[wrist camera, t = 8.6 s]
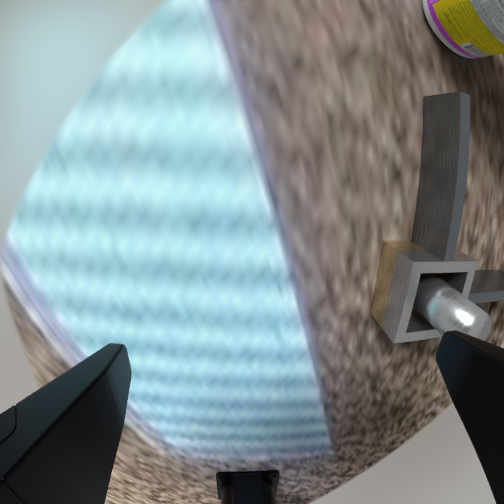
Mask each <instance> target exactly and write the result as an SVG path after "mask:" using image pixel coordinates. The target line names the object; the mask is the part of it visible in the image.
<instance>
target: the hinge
mask: <svg viewBox="0 0 504 504" xmlns="http://www.w3.org/2000/svg"><path fill="white" fill-rule="evenodd" d="M469 136H470V95H468V94H466V93H463V92H452V93H445V94H439V95H432V96H426V97H424V106H423V139H422V156H421V169H420V180H419V189H418V198H417V206H416V214H415V221H414V228H413V234H412V240H411V242H410V241H383V246H382V253H381V259H380V265H379V271H378V276H377V282H376V287H375V292H374V297H373V302H372V307H371V312H370V314H371V315H372V316H373V317H374V319H375V320H376V321H377V323H378V324H379V325H380V326H381V328H382V329H383V330H384V332H385V333H386V334H387V336H388V337H389V338H390V339H391V341H392V342H393V343H394V344H395V343H403V342H410V341H417V340H424V339H431V338H437V337H442V335H441V334H440V333H439V332H438V331H437V330H436V329H435V328H434V327H433V326H432V325H431V324H430V323H429V322H428V321H427V320H426V319H425V318H424V317H423V316H422V315H421V314H420V313H419V312H418V311H417V310H416V309H415V308H414V307H413V304H414V300H415V296H416V292H417V288H418V284H419V279H420V275H421V273H434V274H435V275H437V276H438V277H440V278H441V279H442V280H444V281H445V282H446V283H448V284H449V285H450V286H452V287H453V288H454V289H456V290H457V291H458V292H460V293H461V294H462V295H464V296H465V297H466V298H468V299H469V300H470V301H472V302H473V303H474V304H478V303H486V302H493V301H500V300H504V271H502V270H478V271H475V269H476V265H477V261H476V260H474V259H473V258H471V257H469V256H467V255H466V254H464V253H462V252H460V251H458V250H457V249H456V245H457V240H458V235H459V229H460V223H461V217H462V210H463V203H464V196H465V188H466V178H467V168H468V154H469Z"/></svg>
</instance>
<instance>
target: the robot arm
mask: <svg viewBox="0 0 504 504" xmlns="http://www.w3.org/2000/svg"><path fill="white" fill-rule="evenodd" d="M436 362H437V364H438V367H439V369H440V372H441V374H442V377H443V379H444V382H445V384H446V387H447V389H448V392H449V394H450V397H451V399H452V401H453V403H454V406H455V408H456V409H457V412H458V414H459V416H460V418H461V420H462V422H463V424H464V426H465V429H466V431H467V433H468V435H469V437H470V439H471V442H472V444H473V446H474V448H475V451H476V453H477V455H478V458H479V460H480V462H481V465H482V467H483V470H484V472H485V474H486V477H487V480H488V482H489V485H490V487H491V490H492V493H493V495H494V498H495V501H496V504H504V348H501V347H499V346H496V345H493V344H491V343H488V342H486V341H483V340H481V339H478V338H475V337H473V336H470V335H468V334H465V333H463V332H460V331H457V330H452V331H447V332H445V333H444V334H443V336H442V339H441V342H440V344H439V347H438V350H437V353H436ZM130 382H131V366H130V362H129V357H128V352H127V348H126V346H125V345H124V344H116V343H110V344H108V345H106V346H105V347H103V348H102V349H100V350H99V351H97V352H95V353H94V354H92V355H91V356H89V357H88V358H86V359H85V360H83V361H82V362H80V363H78V364H77V365H75V366H74V367H72V368H71V369H69V370H68V371H66V372H65V373H63V374H62V375H60V376H58V377H57V378H55V379H54V380H52V381H51V382H49V383H48V384H46V385H45V386H43V387H42V388H40V389H38V390H37V391H35V392H34V393H32V394H31V395H29V396H28V397H26V398H25V399H23V400H22V401H20V402H19V403H17V404H16V406H15V405H14V406H12V407H11V408H9V409H8V410H6V411H4V412H3V413H1V414H0V504H104V503H105V499H106V494H107V490H108V485H109V481H110V477H111V473H112V469H113V465H114V461H115V457H116V453H117V449H118V445H119V441H120V438H121V434H122V430H123V426H124V420H125V414H126V407H127V400H128V394H129V388H130ZM278 480H279V471H260V472H219V473H217V474H216V481H217V490H218V499H220V500H221V504H276V499H275V494H276V489H277V484H278Z"/></svg>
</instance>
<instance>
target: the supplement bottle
mask: <svg viewBox="0 0 504 504" xmlns="http://www.w3.org/2000/svg"><path fill="white" fill-rule="evenodd" d="M423 9H424V13H425V16H426V18H427V21H428V23H429V25H430V27H431V28H432V30H433V31H434V33H435V34H436V35H437V37H438V38H439V39H440V40H441V41H442V42H443V43H444V44H445V45H446V46H447V47H448V48H449V49H451V50H452V51H453V52H455V53H457V54H458V55H460V56H463V57H466V58H473V59H474V58H481V57H487V56H492V55H497V54H502V53H504V0H423Z"/></svg>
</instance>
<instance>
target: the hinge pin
mask: <svg viewBox="0 0 504 504" xmlns="http://www.w3.org/2000/svg"><path fill="white" fill-rule="evenodd" d="M413 307H414V308H415V309H416V310H417V311H418V312H419V313H420V314H421V315H422V316H423V317H424V318H425V319H426V320H427V321H428V322H429V323H430V324H431V325H432V326H433V327H434V328H435V329H436V330H437V331H438V332H439V333H440V334H441V335H442V336H443V334H444V333H445V332H447V331H452V330H457V331H460V332H463V333H465V334H468V335H470V336H473V337H475V338H478V339H481V340H483V341H485V340H486V338H487V336H488V334H489V332H490V329H491V317H490V316H489V315H488V314H487V313H486V312H484V311H483V310H482V309H481V308H479V307H478V306H477V305H475V304H474V303H473V302H472V301H470V300H469V299H468V298H466V297H465V296H464V295H462V294H461V293H460V292H458V291H457V290H456V289H454V288H453V287H452V286H450V285H449V284H448V283H446V282H445V281H444V280H442V279H441V278H440V277H438V276H437V275H435V274H434V273H421V275H420V279H419V284H418V288H417V292H416V296H415V300H414V304H413Z"/></svg>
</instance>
